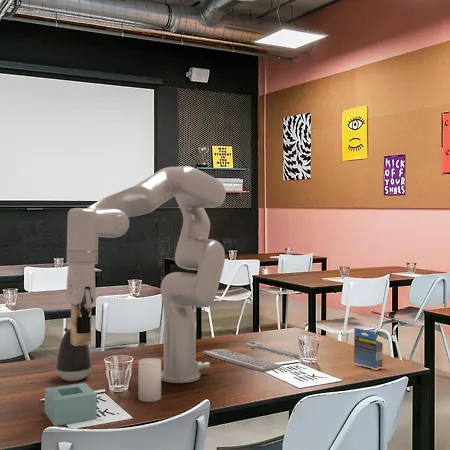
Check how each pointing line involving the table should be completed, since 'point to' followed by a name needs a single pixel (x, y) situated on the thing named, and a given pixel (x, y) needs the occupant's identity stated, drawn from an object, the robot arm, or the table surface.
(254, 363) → the keyboard
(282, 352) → the adjustable wrench
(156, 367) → the white pillar candle
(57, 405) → the bore block
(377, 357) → the label tape cartridge
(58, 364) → the dark brown egg shape
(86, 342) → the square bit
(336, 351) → the table surface
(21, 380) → the table surface
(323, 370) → the table surface
